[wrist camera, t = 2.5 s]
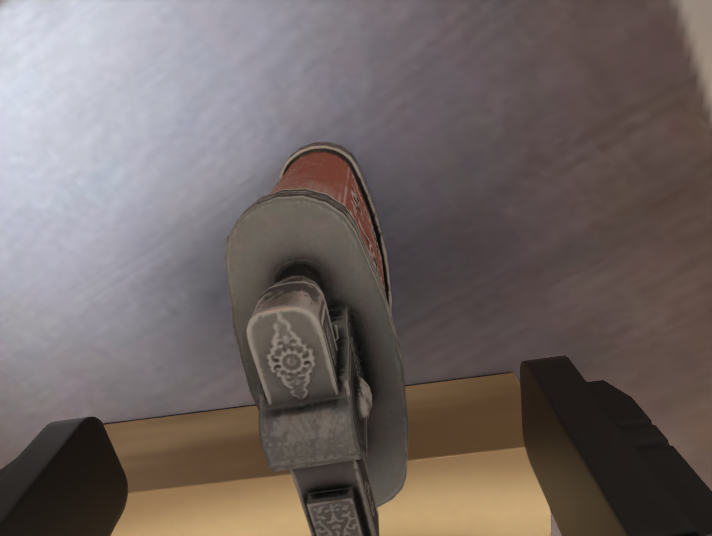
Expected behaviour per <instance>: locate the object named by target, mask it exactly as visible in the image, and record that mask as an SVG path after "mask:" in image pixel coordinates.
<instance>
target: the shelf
mask: <svg viewBox="0 0 712 536" xmlns="http://www.w3.org/2000/svg"><path fill="white" fill-rule="evenodd" d="M405 392H406V402H407V411H408V421H409V436H408V458H407V477H406V480H405V483H404V486H403V489H402V490H401V491H400V492H399V493H398V494H397V495H396V496H395V498H394V499H393V500H391V501H389V502H387V503H385V504H383V505H382V506H380V507H378V508H377V510H378V514H379V536H551V515H550V507H549V505H548V503H547V501H546V498H545V496H544V494H543V492H542V489H541V487H540V485H539V482H538V480H537V478H536V476H535V473H534V471H533V469H532V467H531V464H530V462H529V459H528V456H527V452H526V448H525V444H524V439H523V432H522V411H521V386H520V384H519V383H518V381H517V379H516V377H515V375H514V373H506V374H498V375H490V376H483V377H475V378H467V379H459V380H451V381H443V382H435V383H427V384H420V385H412V386H405ZM104 427H105V430H106V432H107V434H108V436H109V439H110V441H111V443H112V445H113V448H114V450H115V452H116V454H117V457H118V459H119V461H120V463H121V466H122V468H123V470H124V472H125V475H126V478H127V482H128V497H127V502H126V506H125V509H124V511H123V513H122V515H121V517H120V519H119V521H118V523H117V524H116V526H115V528H114V530H113V532H112V534H111V536H312V535H311V532H310V529H309V526H308V523H307V520H306V517H305V514H304V511H303V508H302V505H301V502H300V499H299V496H298V493H297V489H296V486H295V483H294V480H293V477H292V475H291V474H290V472H289V470H284V471H278V472H272V470H271V469H270V468H269V467H268V464H267V461H266V458H265V456H264V453H263V450H262V447H261V441H260V435H259V411H258V408H257V406H256V405H254V406H247V407H239V408H231V409H223V410H215V411H207V412H199V413H191V414H184V415H176V416H168V417H160V418H152V419H144V420H136V421H129V422H121V423H113V424H105V425H104Z"/></svg>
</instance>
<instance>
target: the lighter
mask: <svg viewBox="0 0 712 536" xmlns="http://www.w3.org/2000/svg"><path fill="white" fill-rule="evenodd" d="M225 260H226V269H227V277H228V286H229V294H230V302H231V311H232V319H233V327H234V331H235V335H236V339H237V343H238V346H239V350H240V354H241V358H242V362H243V366H244V370H245V374H246V378H247V382H248V386H249V390H250V392H251V394H252V397H253V399H254V401H255V404H256V406H257V408H258V411H259V435H260V441H261V447H262V450H263V453H264V456H265V458H266V461H267V464H268V467H269V468H270V469H271V470H272V472H278V471H284V470H289V472H290V474H291V475H292V477H293V480H294V483H295V486H296V489H297V493H298V496H299V499H300V502H301V505H302V508H303V511H304V514H305V517H306V520H307V523H308V526H309V529H310V532H311V535H312V536H379V514H378V510H377V508H378V507H380V506H382V505H383V504H385V503H387V502H389V501H391V500H393V499H394V498H395V496H396V495H397V494H398V493H399V492H400V491H401V490H402V489H403V486H404V483H405V480H406V477H407V458H408V436H409V421H408V411H407V402H406V392H405V383H404V373H403V364H402V357H401V350H400V345H399V341H398V338H397V334H396V330H395V327H394V323H393V320H392V316H391V303H392V296H391V287H390V278H389V268H388V259H387V251H386V245H385V241H384V238H383V234H382V230H381V226H380V223H379V219H378V215H377V211H376V208H375V204H374V201H373V199H372V197H371V194H370V192H369V189H368V187H367V184H366V182H365V179H364V177H363V174H362V172H361V169H360V167H359V164H358V162H357V161H356V159H355V158H354V156H353V155H352V153H351V152H349V151H348V150H346V149H345V148H343V147H342V146H340V145H337V144H333V143H329V142H319V143H312V144H309V145H307V146H304V147H301V148H300V149H299V150H298V151H296V152H295V153H294V154H293V155H291V157H290V158H289V159H288V160H287V162H286V164H285V165H284V167H283V169H282V170H281V174H280V181H279V182H278V184H277V185H276V186H275V188H274V189H273V190H272V192H271V193H270V194H268V195H266V196H263V197H261V198H260V199H259V200H258V201H256V202H255V203H254V204H253V205H251V206H250V207H249V208H248V209H246V210H245V212H244V213H243V214H242V215H241V216H240V218H239V219H238V220H237V222H236V223H235V225H234V227H233V229H232V230H231V232H230V234H229V236H228V237H227V243H226V252H225Z"/></svg>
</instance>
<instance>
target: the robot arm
mask: <svg viewBox="0 0 712 536" xmlns="http://www.w3.org/2000/svg"><path fill="white" fill-rule="evenodd" d="M520 385H521V411H522V432H523V439H524V444H525V448H526V452H527V456H528V459H529V462H530V464H531V467H532V469H533V471H534V473H535V476H536V478H537V480H538V482H539V485H540V487H541V489H542V492H543V494H544V496H545V498H546V501H547V503H548V505H549V507H550V510H551V512H552V514H553V516H554V519H555V521H556V523H557V525H558V528H559V530H560V532H561V534H562V536H712V491H711V490H710V489H709V488H708V487H707V485H706V484H705V483H704V482H703V481H702V480H701V478H700V477H699V476H698V475H697V474H696V473H695V471H694V470H693V469H692V468H691V467H690V466H689V464H688V463H687V462H686V461H685V460H684V458H683V457H682V456H681V455H680V454H679V453H678V451H677V450H676V449H675V448H674V447H673V446H670V445H669V443H668V440H667V438H666V437H665V436H664V435H663V434H662V433H661V431H660V430H659V429H658V428H657V427H656V426H655V425H652V423H651V420H650V419H649V417H648V416H647V415H646V414H645V413H644V411H643V410H642V409H641V408H640V407H639V406H638V404H637V403H636V402H635V401H634V400H633V399H632V397H630V396H628V395H627V394H625V393H623V392H622V391H620V390H618V389H617V388H615V387H614V386H612V385H610V384H609V383H607V382H605V381H604V380H601V381H593V382H586V381H585V380H584V378H583V377H582V376H581V374H580V373H579V372H578V370H577V369H576V368H575V366H574V365H573V364H572V362H571V361H570V360H569V358H567V357H566V356H558V357H550V358H543V359H535V360H527V361H522V362H521V365H520ZM127 497H128V482H127V478H126V475H125V472H124V470H123V468H122V466H121V463H120V461H119V459H118V457H117V454H116V452H115V450H114V448H113V445H112V443H111V441H110V439H109V436H108V434H107V432H106V430H105V427H104V425H103V424H102V422H101V421H100V420H99V419H98V418H96V417H86V418H78V419H71V420H63V421H55V422H52V423H50V424H48V425H47V426H46V427H45V428H44V429H43V430H42V431H41V432H40V433H39V434H38V435H37V436H36V438H35V439H34V440H33V441H32V442H31V443H30V444H29V445H28V447H27V448H26V449H25V450H24V451H23V452H22V453H21V454H20V455H19V457H17V458H16V459H15V460H13V461H12V462H11V463H9V464H8V465H7V466H5V467H4V468H3V469H1V470H0V536H111V534H112V532H113V530H114V528H115V526H116V524H117V523H118V521H119V519H120V517H121V515H122V513H123V511H124V509H125V506H126V502H127Z"/></svg>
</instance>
